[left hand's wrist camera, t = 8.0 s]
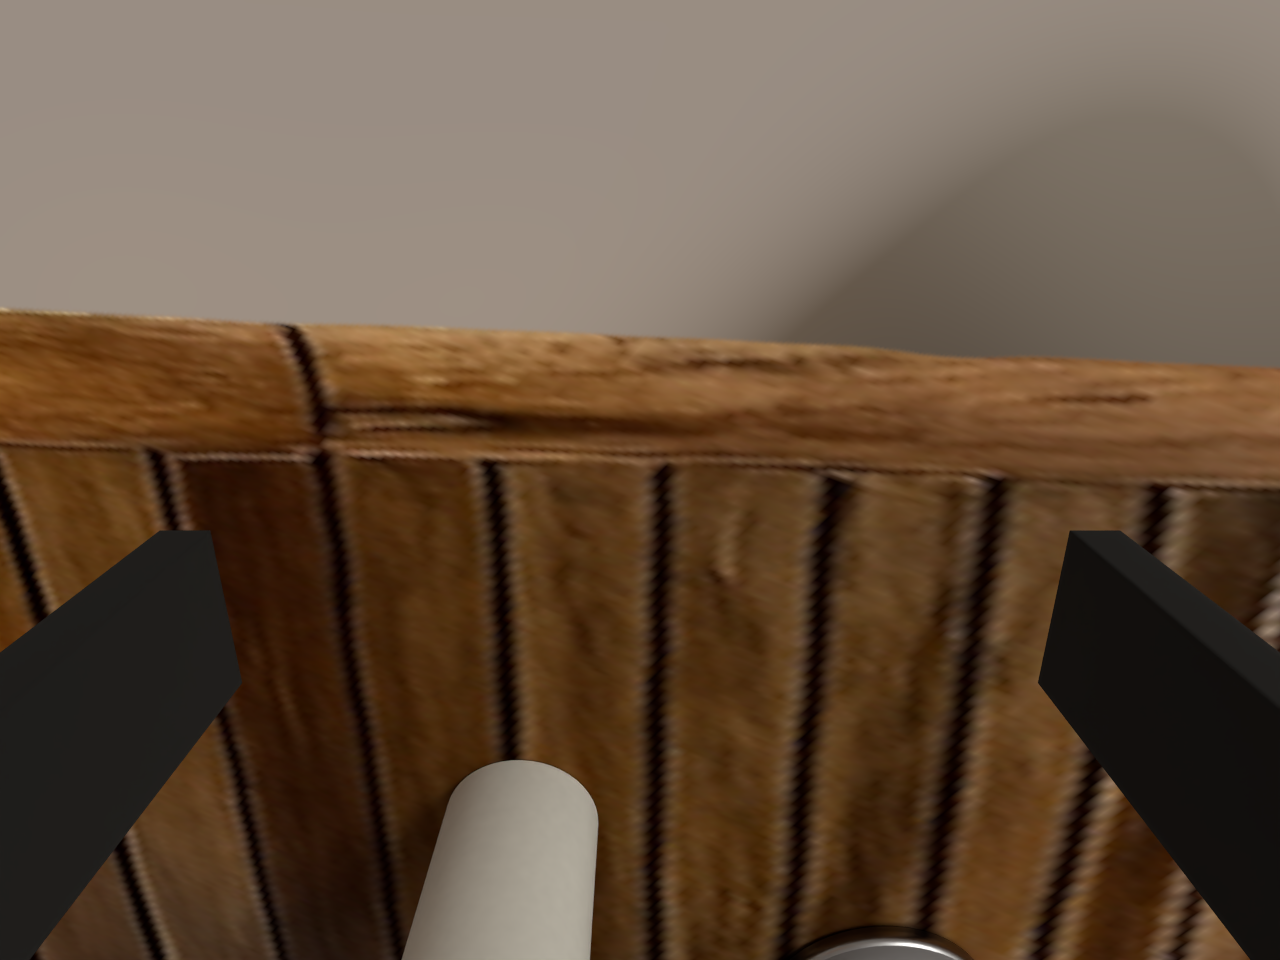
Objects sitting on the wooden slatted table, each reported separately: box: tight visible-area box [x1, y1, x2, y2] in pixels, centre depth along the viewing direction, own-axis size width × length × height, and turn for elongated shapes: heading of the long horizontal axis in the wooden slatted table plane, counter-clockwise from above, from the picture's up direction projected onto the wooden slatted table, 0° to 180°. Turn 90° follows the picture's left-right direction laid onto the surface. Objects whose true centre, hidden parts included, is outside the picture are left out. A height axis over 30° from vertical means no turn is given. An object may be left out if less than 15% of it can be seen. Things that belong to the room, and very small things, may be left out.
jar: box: [402, 760, 598, 960], centre depth 42 cm, size 9×9×17 cm
